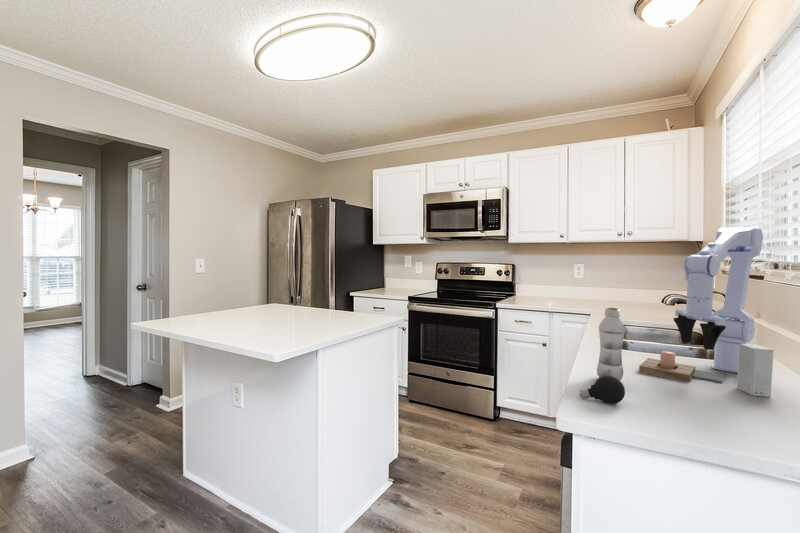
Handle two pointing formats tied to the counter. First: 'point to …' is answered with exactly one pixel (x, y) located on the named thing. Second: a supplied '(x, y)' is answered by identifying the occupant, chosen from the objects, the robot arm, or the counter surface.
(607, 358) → the plastic bottle
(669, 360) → the peg
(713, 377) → the rubber pad
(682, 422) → the counter surface
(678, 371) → the walnut holder
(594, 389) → the light bulb
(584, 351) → the counter surface
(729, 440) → the counter surface
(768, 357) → the skincare box
